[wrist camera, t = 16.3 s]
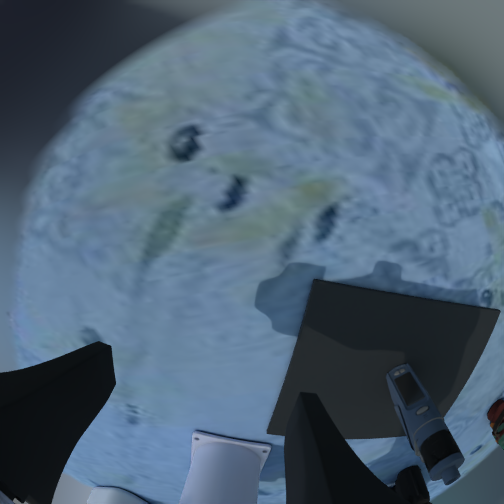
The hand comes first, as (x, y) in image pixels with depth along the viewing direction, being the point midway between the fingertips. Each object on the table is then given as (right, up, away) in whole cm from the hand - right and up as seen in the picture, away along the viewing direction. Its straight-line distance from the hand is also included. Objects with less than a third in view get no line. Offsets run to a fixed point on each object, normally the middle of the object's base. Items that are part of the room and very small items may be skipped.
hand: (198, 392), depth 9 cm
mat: (+15, -6, +11) cm, 19 cm away
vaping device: (+15, -6, +11) cm, 20 cm away
